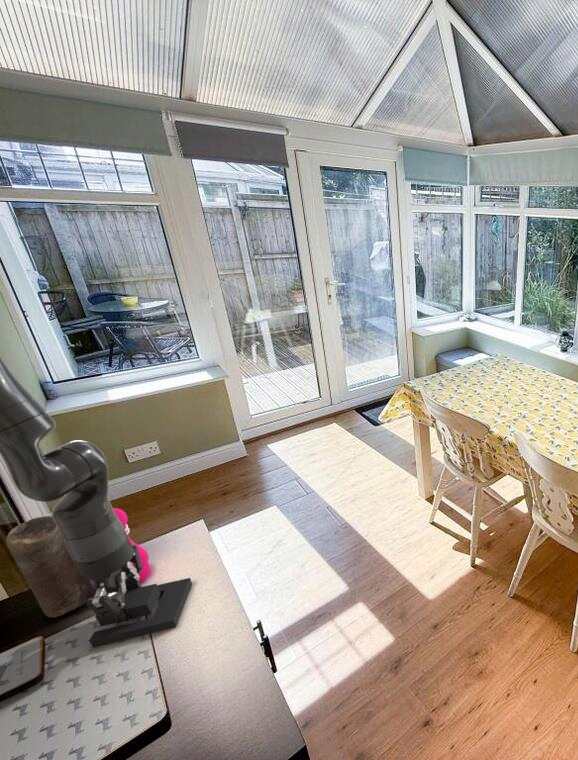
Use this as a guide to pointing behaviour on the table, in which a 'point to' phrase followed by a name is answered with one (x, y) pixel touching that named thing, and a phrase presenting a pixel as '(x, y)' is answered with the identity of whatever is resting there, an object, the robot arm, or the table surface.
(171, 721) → the table surface
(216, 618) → the table surface
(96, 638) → the black u-shaped piece
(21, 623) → the table surface
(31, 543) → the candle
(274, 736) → the table surface
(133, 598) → the black block
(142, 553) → the pepper mill
